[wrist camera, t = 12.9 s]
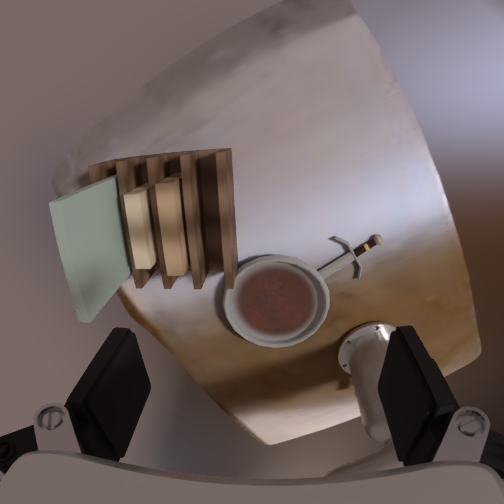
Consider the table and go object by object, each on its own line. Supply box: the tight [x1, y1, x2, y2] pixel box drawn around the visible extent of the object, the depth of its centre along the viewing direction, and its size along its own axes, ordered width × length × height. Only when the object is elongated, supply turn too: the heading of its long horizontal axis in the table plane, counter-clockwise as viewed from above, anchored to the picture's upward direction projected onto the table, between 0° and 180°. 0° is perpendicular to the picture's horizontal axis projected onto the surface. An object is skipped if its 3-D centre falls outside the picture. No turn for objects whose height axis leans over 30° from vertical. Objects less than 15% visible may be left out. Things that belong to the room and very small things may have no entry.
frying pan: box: [222, 235, 383, 348], centre depth 49 cm, size 17×3×28 cm
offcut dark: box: [155, 173, 191, 276], centre depth 42 cm, size 12×2×8 cm, turn 2°
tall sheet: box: [49, 174, 133, 322], centre depth 38 cm, size 14×2×18 cm, turn 2°
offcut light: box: [124, 183, 159, 269], centre depth 42 cm, size 10×2×8 cm, turn 2°
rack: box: [88, 148, 238, 289], centre depth 44 cm, size 18×19×7 cm
